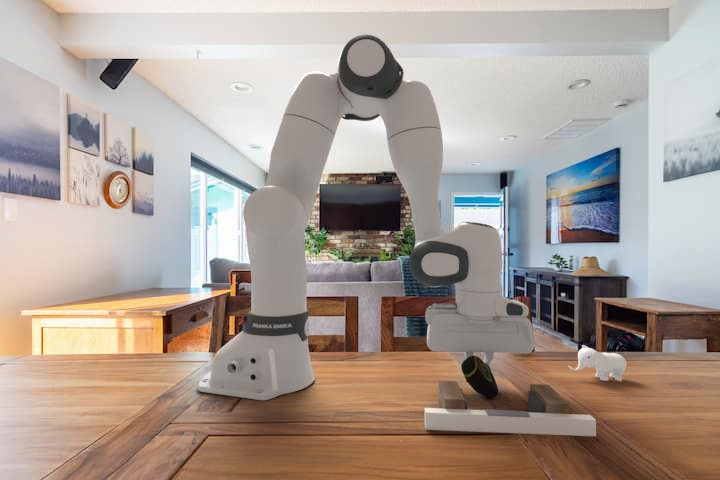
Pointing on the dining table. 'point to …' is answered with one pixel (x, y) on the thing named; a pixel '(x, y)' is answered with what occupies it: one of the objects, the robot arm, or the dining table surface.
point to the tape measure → (479, 376)
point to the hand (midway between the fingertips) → (478, 373)
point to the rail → (508, 414)
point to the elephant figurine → (601, 363)
